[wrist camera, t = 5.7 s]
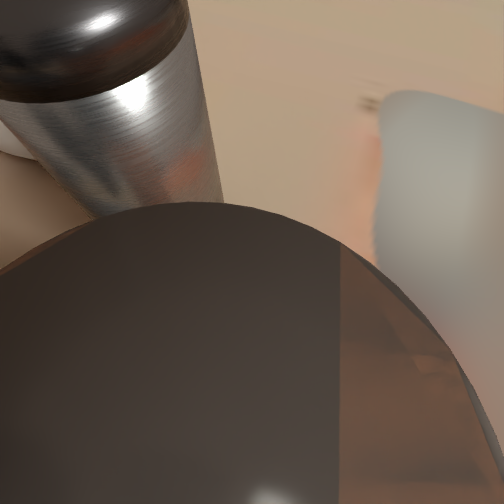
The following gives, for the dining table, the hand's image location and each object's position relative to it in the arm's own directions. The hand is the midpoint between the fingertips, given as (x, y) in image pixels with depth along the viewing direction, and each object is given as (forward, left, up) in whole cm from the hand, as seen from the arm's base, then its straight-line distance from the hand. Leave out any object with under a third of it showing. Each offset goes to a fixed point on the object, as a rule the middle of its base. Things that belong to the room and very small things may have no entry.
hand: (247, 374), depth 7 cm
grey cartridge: (+7, +3, -7) cm, 10 cm away
